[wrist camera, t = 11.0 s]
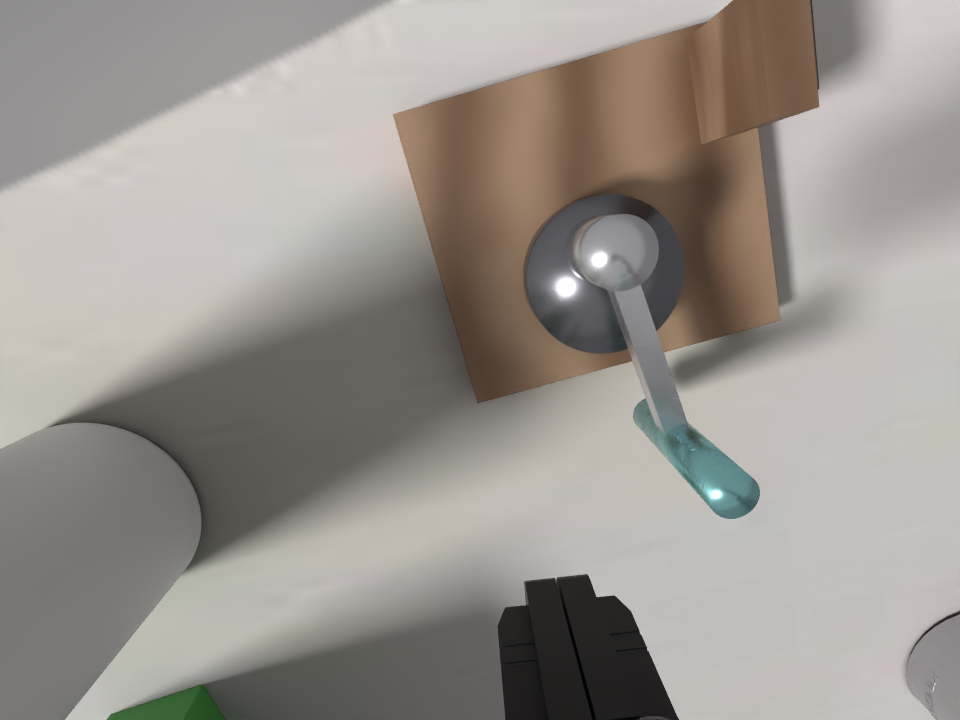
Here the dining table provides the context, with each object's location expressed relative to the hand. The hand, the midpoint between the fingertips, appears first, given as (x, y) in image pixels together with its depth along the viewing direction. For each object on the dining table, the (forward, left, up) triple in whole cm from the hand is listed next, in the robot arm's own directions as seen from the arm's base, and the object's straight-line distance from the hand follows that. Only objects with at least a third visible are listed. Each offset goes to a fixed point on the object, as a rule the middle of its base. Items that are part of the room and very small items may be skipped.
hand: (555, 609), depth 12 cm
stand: (-7, -7, -20) cm, 22 cm away
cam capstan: (-7, -2, -18) cm, 19 cm away
